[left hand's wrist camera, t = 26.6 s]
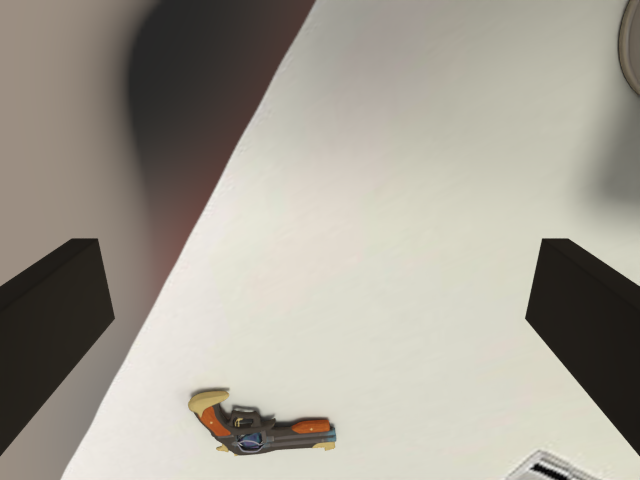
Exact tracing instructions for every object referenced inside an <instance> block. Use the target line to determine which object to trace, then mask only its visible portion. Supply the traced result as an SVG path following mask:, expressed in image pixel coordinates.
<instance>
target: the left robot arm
mask: <svg viewBox="0 0 640 480" xmlns="http://www.w3.org/2000/svg"><path fill="white" fill-rule="evenodd" d="M619 56H620V62H621V66H622V70H623V73H624V75H625V77H626V79H627V81H628V83H629V84H630V86H631V87H632V89H633V90H634V91H635V92H636V93H637V94H638V95H639V96H640V0H630V1H629V3H628V6H627V8H626V11H625V14H624V17H623V20H622V25H621V29H620V36H619ZM114 319H115V317H114V312H113V307H112V303H111V298H110V293H109V289H108V284H107V279H106V275H105V270H104V265H103V261H102V256H101V251H100V246H99V242H98V239H70V240H69V241H67V242H66V243H64V244H63V245H62V246H60V247H58V248H57V249H55V250H54V251H53V252H51V253H50V254H48V255H46V256H45V257H43V258H42V259H41V260H39V261H38V262H36V263H35V264H33V265H32V266H30V267H29V268H27V269H26V270H24V271H23V272H21V273H20V274H18V275H17V276H15V277H14V278H12V279H11V280H9V281H8V282H6V283H5V284H3V285H2V286H0V456H1V455H2V454H3V452H4V451H5V450H6V449H7V447H8V446H9V445H10V444H11V443H12V442H13V440H14V439H15V438H16V437H17V436H18V434H19V433H20V432H21V431H22V429H23V428H24V427H25V426H26V425H27V424H28V422H29V421H30V420H31V419H32V417H33V416H34V415H35V414H36V413H37V412H38V410H39V409H40V408H41V407H42V405H43V404H44V403H45V402H46V401H47V399H48V398H49V397H50V396H51V395H52V393H53V392H54V391H55V390H56V389H57V387H58V386H59V385H60V384H61V383H62V381H63V380H64V379H65V378H66V377H67V375H68V374H69V373H70V372H71V371H72V369H73V368H74V367H75V366H76V365H77V363H78V362H79V361H80V360H81V359H82V357H83V356H84V355H85V354H86V353H87V351H88V350H89V349H90V348H91V347H92V345H93V344H94V343H95V342H96V341H97V339H98V338H99V337H100V336H101V335H102V333H103V332H104V331H105V330H106V329H107V327H108V326H109V325H110V324H111V323H112V321H113V320H114ZM525 319H526V320H527V321H528V323H529V324H530V325H531V326H532V327H533V329H534V330H535V331H536V332H537V333H538V335H539V336H540V337H541V338H542V339H543V341H544V342H545V343H546V344H547V345H548V347H549V348H550V349H551V350H552V351H553V353H554V354H555V355H556V356H557V357H558V359H559V360H560V361H561V362H562V363H563V365H564V366H565V367H566V368H567V369H568V371H569V372H570V373H571V374H572V375H573V377H574V378H575V379H576V380H577V381H578V383H579V384H580V385H581V386H582V387H583V389H584V390H585V391H586V392H587V393H588V395H589V396H590V397H591V398H592V399H593V401H594V402H595V403H596V404H597V406H598V407H599V408H600V409H601V410H602V412H603V413H604V414H605V415H606V416H607V418H608V419H609V420H610V421H611V422H612V424H613V425H614V426H615V427H616V428H617V430H618V431H619V432H620V433H621V434H622V436H623V437H624V438H625V439H626V440H627V442H628V443H629V444H630V445H631V446H632V448H633V449H634V450H635V451H636V452H637V454H638V455H639V456H640V286H638V285H637V284H635V283H634V282H632V281H631V280H629V279H628V278H626V277H625V276H623V275H622V274H620V273H619V272H617V271H616V270H614V269H613V268H611V267H610V266H608V265H607V264H605V263H604V262H602V261H601V260H599V259H598V258H596V257H595V256H594V255H592V254H591V253H589V252H588V251H586V250H585V249H583V248H582V247H580V246H579V245H577V244H576V243H574V242H573V241H571V240H570V239H542V242H541V246H540V251H539V256H538V261H537V265H536V270H535V275H534V279H533V284H532V289H531V293H530V298H529V303H528V307H527V312H526V317H525Z"/></svg>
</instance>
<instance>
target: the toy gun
mask: <svg viewBox="0 0 640 480" xmlns="http://www.w3.org/2000/svg"><path fill="white" fill-rule="evenodd" d="M228 397H229V393H228V392H225V391H213V392H204V393H200V394H197V395H195V396H194V397H192V398H191V399H190V401H189V403H188V406H189V409H190V410H191V411H193V412H194V414H195V415H196V417H197V418H198V420H199V421H200V422H201V423H202V424H203V425H204V426H205V427H206V428H207V429H208V430H209V431H210V432H211V435H212V436H213V437H214V438H215V439H216V440H217V441H219V442H221V443H222V446H220V447H217V448H216V449H217V450H218V451H225V452H228V451H232V452H233V453H234V455H235V456H238V455H253V454H262V453H267V452H271V451H274V450H282V449H298V448H322V447H325V451H326V450H330V449H334V448H335V442H334V441H336V434H335V428H332V427H330V425H329V421H328V420H314V421H302V422H299V423H297V424H295V425H293V426H291V427H273V426H274V425H275V418H274V419H271V420H268V421H264V422H261V420H260V415H259V414H258V413H257V412H241V411H236V410H233V411H232V413H231V419H230V420H227V419H226V418H225V417H224V416H223V414H222V413H221V411H220V408H219V403H220V402H222V401H224V400H225V399H227V398H228ZM235 417H237V420H236V422H237V421H238V424H236V422H235V423H233V419H234V418H235ZM243 418H244V419H253V422H252V423H245V424H239V421H240V420H242V419H243ZM244 434H246V435H245V436H244V437H242V438H241V439H240V438H239V437H240V435H244ZM238 435H239V436H238ZM261 442H262V443H261ZM239 443H240V444H242V445H243V446H241V445H239Z"/></svg>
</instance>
